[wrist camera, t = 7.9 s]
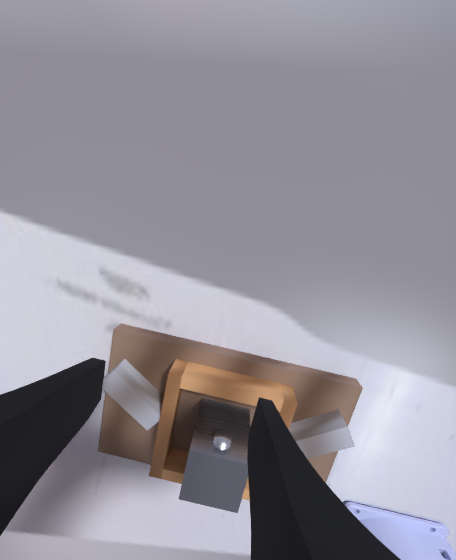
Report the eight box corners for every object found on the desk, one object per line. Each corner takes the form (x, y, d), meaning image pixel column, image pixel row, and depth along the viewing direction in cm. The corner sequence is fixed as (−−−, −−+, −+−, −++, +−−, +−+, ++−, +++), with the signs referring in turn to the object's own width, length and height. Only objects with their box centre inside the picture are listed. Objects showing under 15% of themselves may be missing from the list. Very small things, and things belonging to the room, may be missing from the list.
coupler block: (250, 404, 21) (252, 460, 16) (238, 452, 22) (236, 517, 17) (203, 393, 21) (190, 445, 16) (192, 441, 22) (177, 503, 17)
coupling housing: (356, 378, 21) (375, 405, 18) (313, 490, 24) (324, 530, 21) (120, 323, 21) (99, 340, 18) (105, 440, 24) (84, 472, 21)
